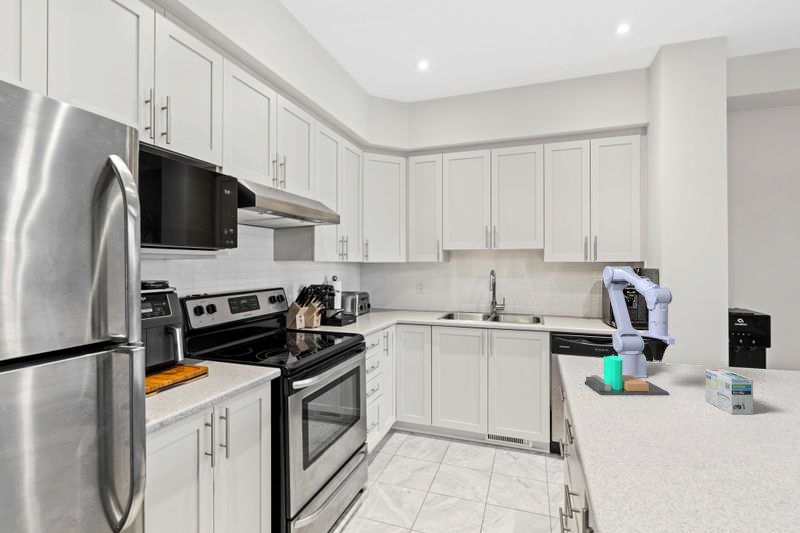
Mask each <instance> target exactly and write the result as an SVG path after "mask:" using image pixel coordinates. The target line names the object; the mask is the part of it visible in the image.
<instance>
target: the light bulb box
mask: <svg viewBox="0 0 800 533" xmlns="http://www.w3.org/2000/svg"><path fill="white" fill-rule="evenodd" d="M705 402H706V403H708V404H710V405H713V406H714V407H717V408H719V409H721V410H722V411H725V412H727V413H728V414H731V415H737V414H738V415H754V378H751V377H748V376H745V375H742V374H739V373H736V372H733V371H730V370H728V369H722V368H721V369H716V368H715V369H713V368H710V369H709V368H706V369H705Z"/></svg>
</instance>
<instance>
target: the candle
mask: <svg viewBox="0 0 800 533" xmlns="http://www.w3.org/2000/svg"><path fill="white" fill-rule="evenodd" d="M603 379H604V380H605V381H607V382H608V383H610V384H611V389H612V390H621V389H622V382H623V358H621V357H618V355H608V356H603Z"/></svg>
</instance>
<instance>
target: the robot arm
mask: <svg viewBox="0 0 800 533" xmlns="http://www.w3.org/2000/svg"><path fill="white" fill-rule="evenodd" d="M602 279H603V283H604V287H605V288H606V289H607V293H608V295H609V296H608V297H609V300H610V303H611V305H610V306H611V307H612V308H611V309H612V312H613V317H614V320H615V321H614V322H615V324H616V328H617V329H616V330H615V331H614V332H613V333H612V334H611V337H612V347H613V349H614V350H615V351H616V353H617V357H621V358H623V375H633V376H635V377H637V378H639V379H641V378H646V379H647V378H648V375H647V365H648V364H647V358H646V356H645V354H644V353H642V352H643V351H644V349H645V341H644V339H643V337H648V338H650V339H646V343H647V344H648V346H649V347H650V351H651V354H652V357H653V358H652V359H653V360H654V361H658V362H659V361H660V362H661V361H663V358H664V356H665V352H666V350H667V349H668V347H669V346H670V345H676V344H675V343H676V338H674V337H672V336H671V335H669V305H670V304H671V303H672V301H673V292H672V291H671V289H670V288H668V287H661V286H660V285H659V284H657V283H654V282H653V281H652V280H651V278H649V277H647V278H643V277H640V276H639V275H638V274H637V273H635V270H634V268H633V267H631V266H629V265H626V266H609V265H606V266H605V267H604V269H603V272H602ZM630 284H631V285H633V286H634V289H635V291H637V292H638V293H639V294H641V295H642V296H643V297H644V299H645V302H646V307H647V309H648V330H643V331H642V336H643V337H642V336H641V333H640V331H638V330H637V329H635V328H634V327H633V325H632V323H631V322H632V321H631V319H630V314H629V311H628V310H629V309H628V306H627V303H626V299H625V295H624V293H623V291H624V289H626V288H628V286H629V285H630Z"/></svg>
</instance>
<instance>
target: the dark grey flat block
mask: <svg viewBox="0 0 800 533" xmlns="http://www.w3.org/2000/svg"><path fill="white" fill-rule="evenodd" d="M643 381H644V380H643ZM644 382H646V383H648V384H649V391H627V390H625V389H624V388H622V389H621V390H612V389H611V384H610V383H608V382H607V381H605V380H604V378H602V377H601V376H598V375H591V376H585V381H584V385H585V386H587V387H588V388H590V389H591V390H592V391H594V392H596V393H597V394H598V395H599V396H670V392H669V391H667V390H666V389H663V388H661V387H660V386H658V385H656V384H653V383H652V382H649V381H647V380H645V381H644Z"/></svg>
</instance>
